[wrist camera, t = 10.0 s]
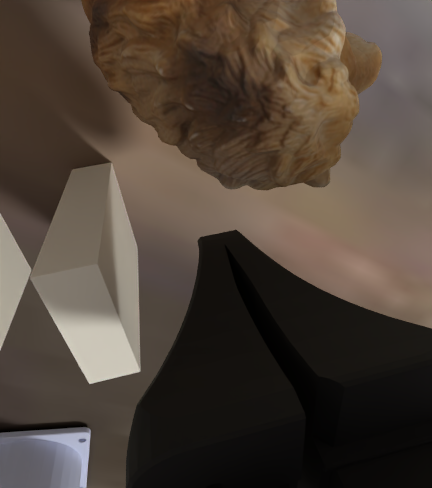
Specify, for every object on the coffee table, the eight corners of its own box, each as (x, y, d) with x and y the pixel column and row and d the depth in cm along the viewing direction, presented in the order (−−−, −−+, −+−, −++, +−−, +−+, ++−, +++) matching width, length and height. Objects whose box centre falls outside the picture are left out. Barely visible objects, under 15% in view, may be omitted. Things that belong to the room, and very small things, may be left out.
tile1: (111, 162, 14) (97, 263, 8) (137, 248, 17) (140, 371, 11) (72, 169, 14) (29, 277, 8) (104, 255, 16) (89, 384, 11)
